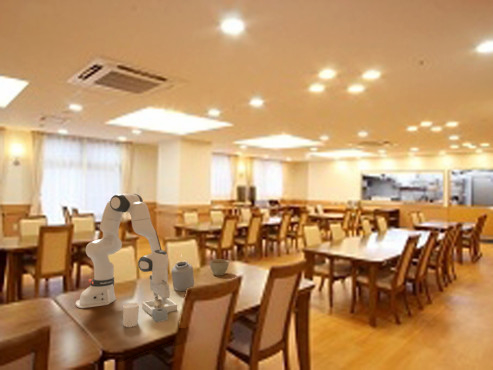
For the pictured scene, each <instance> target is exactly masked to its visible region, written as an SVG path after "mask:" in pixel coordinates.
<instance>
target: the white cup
mask: <svg viewBox="0 0 493 370" xmlns="http://www.w3.org/2000/svg"><path fill="white" fill-rule="evenodd" d="M139 309H140V304H139V303H138V302H128V303H125V304H123V305H122V319H123V326H124V327H125V326H126V327H125V328H133V327H136V326H137V325H138V320H139ZM132 326H133V327H132Z"/></svg>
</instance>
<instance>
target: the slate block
mask: <svg viewBox="0 0 493 370" xmlns="http://www.w3.org/2000/svg"><path fill="white" fill-rule="evenodd" d="M152 320H153V321H154V322H156V323H159V321H160V322H162V321H163V320H164V321H167V320H168V313H167V310H166V309H165V308H164V307H162V308H157V309H153V316H152ZM164 321H163V322H164Z"/></svg>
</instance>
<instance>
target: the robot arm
mask: <svg viewBox="0 0 493 370" xmlns="http://www.w3.org/2000/svg"><path fill="white" fill-rule="evenodd" d="M143 200H144V199H143V198H142V197H141V195H139V194H136V193H131V192H130V193H128V192H127V193H117V194H114V195H112V197H111V198H110V200H108V202H107V203H106V206H105V207H104V210H103V213H102V215H101V216H102V217H101V220H100V224H99V230H100V231H101V232H102V237H101V238H100V239H95V240H93V241H90V242H88V244H87V245H86V246H85V254H86V255H87V257H88V258H89V259H91V261H92V263H93V271H94V273H93V274H94V277H93V278H89V279H88V282H89V283H90V285H89V286H87V288H86V289H84V290H82V292H81V293H80V297H79V299H78V300H76V301H75V306H76V307H77V308H78V309H86V308H87V309H88V308H93V307H94V308H95V307H101V306H108V305H110V304H111V303H113V302H115V301H116V299H117V298H116V295H115V288H114V287H115V277H114V271H115V269H114V264H113V262H111V261H110V259H109V256H110V255H114V254H117V252H119V251H120V250H121V249H122V247H123V243H122V240H121V239H120V236H119V229H120V224H121V221H122V216H123V213H129V215H130V221H131V226H132V229H133V232H134V233H135V234H136V235H139V236H142V237H144V238H145V239H147V241H148V244H149V247H150V251H151V253H149V254H146V255H145V254H144V255H143V256H141V257H139V259H138V263H137V265H138V268H139V270H140V271H141V272H144V273H146V272H151V273H152V274H150V275H149V280H150V281H149V286H150V291H151V292H152V293H153V296H154V300H158V299H159V297H160V298H162V301H161V304H162V305H164V304H165V300H166V298H168V299H170V294H171V293H170V292H171V291H170V285H169V283H168V281H169V280H168V279H169V278H168V277H169V274H168V272H169V271H168V267H169V258H168V257H169V256H168V253H167V252H166V251H165V250H163V249H162V246H161V242H160V239H159V236H158V232H157V231H156V229H155V227H154V225H153V222H152V219H151V214H150V210H149V208H148V205H147V203H146V202H144V201H143Z"/></svg>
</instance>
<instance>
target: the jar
mask: <svg viewBox="0 0 493 370" xmlns="http://www.w3.org/2000/svg"><path fill="white" fill-rule="evenodd" d="M180 256H182V253H181V255H180ZM170 271H171V279H172V286H173V289H174V290H175V291H178V292H184V291H188V290H187V288H190V287H192V288H193V287H194V285H195V275H194V269H193V265H191V263H188V262H187V261H177V262H176V263H175V264H174V265H173V267H172V268H171V270H170ZM190 289H191V288H190Z"/></svg>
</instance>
